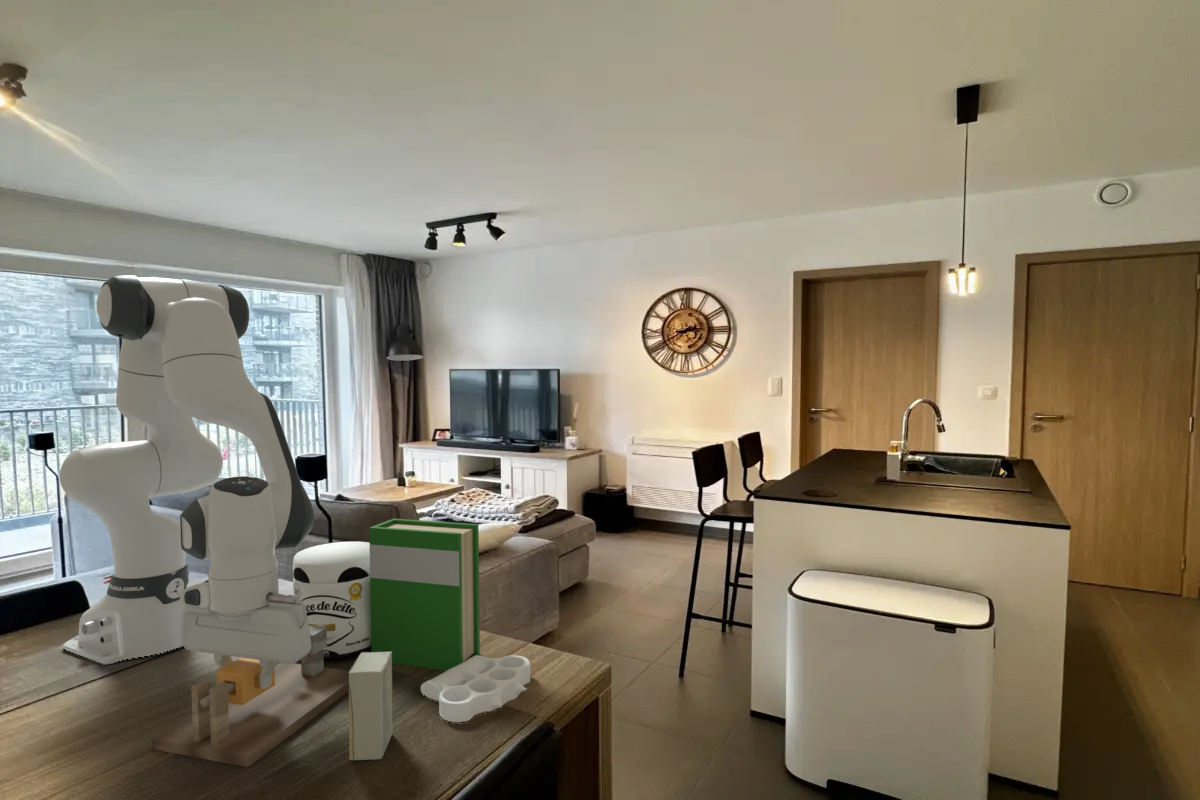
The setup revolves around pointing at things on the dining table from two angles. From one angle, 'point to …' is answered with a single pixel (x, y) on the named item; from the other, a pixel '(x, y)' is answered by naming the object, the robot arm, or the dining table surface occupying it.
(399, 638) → the hardback book
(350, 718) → the skincare box
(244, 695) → the marker sleeve
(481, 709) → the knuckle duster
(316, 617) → the milk container
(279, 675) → the board
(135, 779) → the dining table surface
